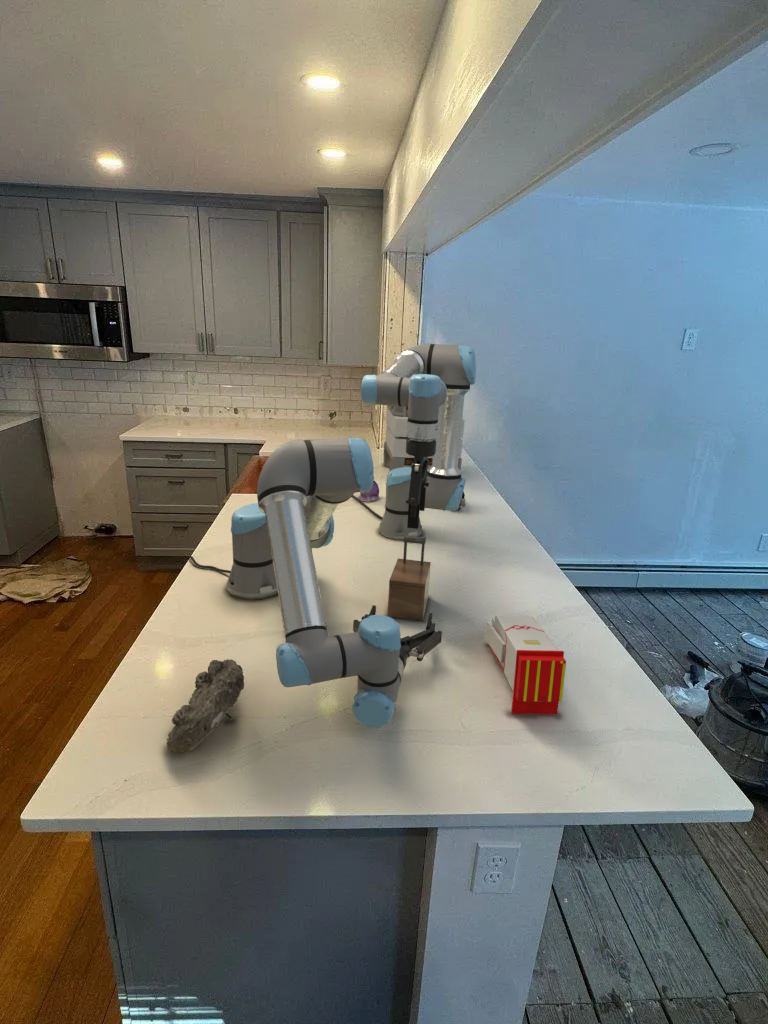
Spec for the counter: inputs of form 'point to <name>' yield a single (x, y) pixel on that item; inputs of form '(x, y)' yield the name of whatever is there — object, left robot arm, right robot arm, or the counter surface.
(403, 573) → the lid
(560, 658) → the toy
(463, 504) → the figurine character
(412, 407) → the right robot arm
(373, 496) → the figurine
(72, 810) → the counter surface
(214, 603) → the counter surface
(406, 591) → the brown hollow box
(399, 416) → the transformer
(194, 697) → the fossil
